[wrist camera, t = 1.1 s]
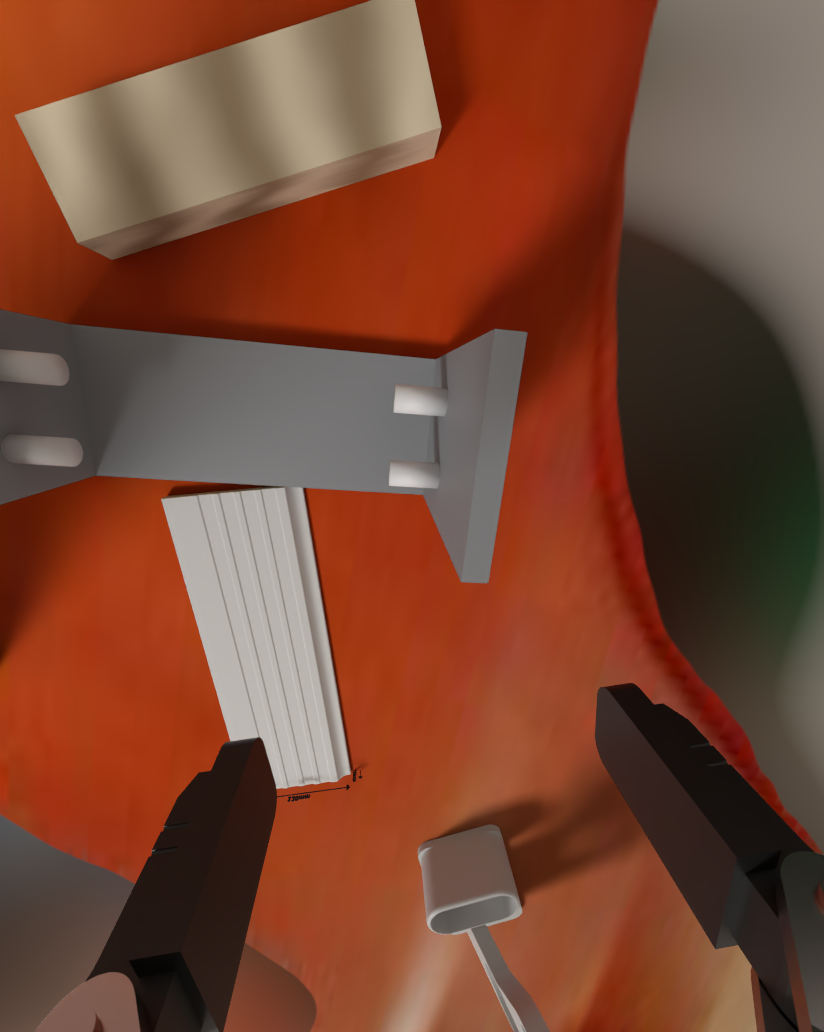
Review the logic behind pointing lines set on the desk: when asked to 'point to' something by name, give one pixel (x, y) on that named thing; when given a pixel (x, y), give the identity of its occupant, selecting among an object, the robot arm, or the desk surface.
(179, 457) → the shelf frame
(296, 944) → the desk surface
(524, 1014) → the phone holder
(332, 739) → the baseboard
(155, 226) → the shelf board
